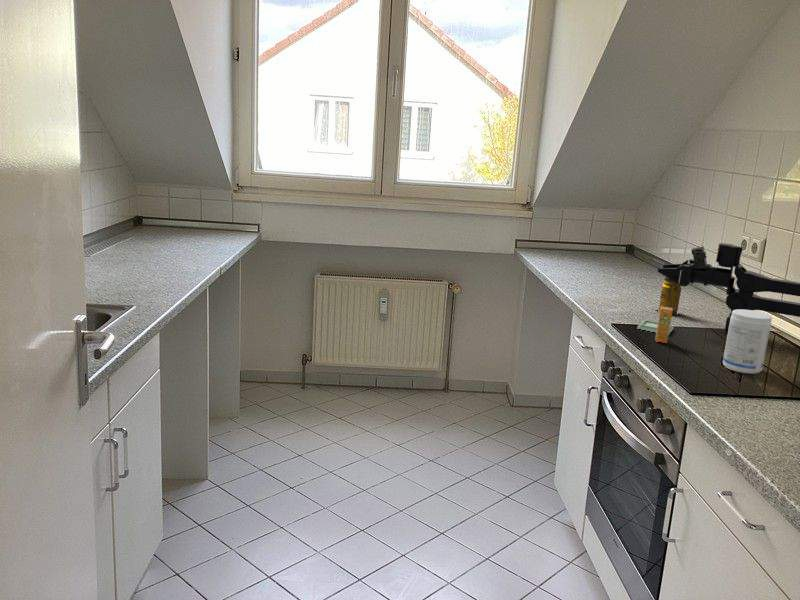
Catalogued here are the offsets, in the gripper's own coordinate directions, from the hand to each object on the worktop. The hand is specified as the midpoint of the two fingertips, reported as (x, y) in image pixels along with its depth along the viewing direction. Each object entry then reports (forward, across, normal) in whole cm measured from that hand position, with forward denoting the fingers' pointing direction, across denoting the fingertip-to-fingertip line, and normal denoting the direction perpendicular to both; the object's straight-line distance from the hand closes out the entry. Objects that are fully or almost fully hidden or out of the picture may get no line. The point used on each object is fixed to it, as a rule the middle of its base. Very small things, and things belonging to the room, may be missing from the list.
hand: (660, 268), depth 237 cm
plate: (-3, +14, +16) cm, 22 cm away
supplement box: (-7, +28, +17) cm, 34 cm away
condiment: (-3, -14, +17) cm, 22 cm away
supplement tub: (-29, +40, +17) cm, 52 cm away
